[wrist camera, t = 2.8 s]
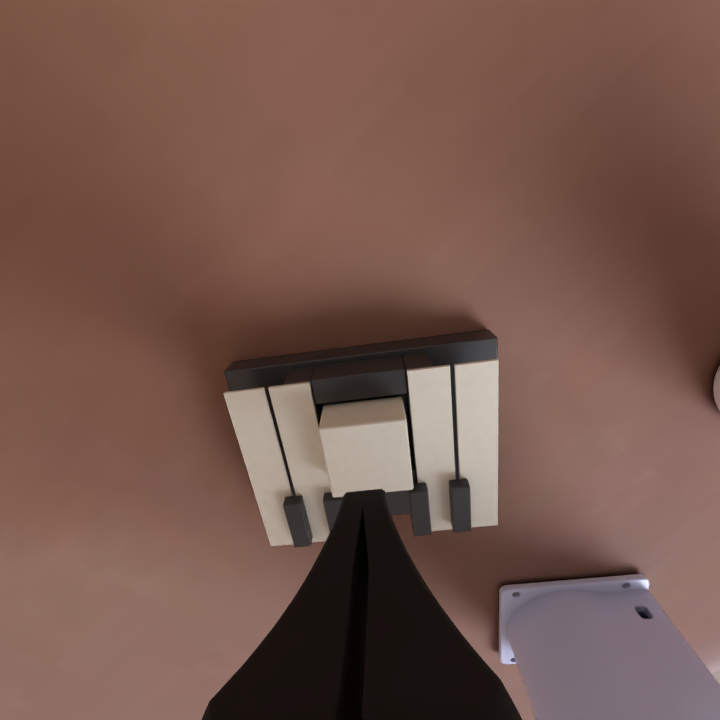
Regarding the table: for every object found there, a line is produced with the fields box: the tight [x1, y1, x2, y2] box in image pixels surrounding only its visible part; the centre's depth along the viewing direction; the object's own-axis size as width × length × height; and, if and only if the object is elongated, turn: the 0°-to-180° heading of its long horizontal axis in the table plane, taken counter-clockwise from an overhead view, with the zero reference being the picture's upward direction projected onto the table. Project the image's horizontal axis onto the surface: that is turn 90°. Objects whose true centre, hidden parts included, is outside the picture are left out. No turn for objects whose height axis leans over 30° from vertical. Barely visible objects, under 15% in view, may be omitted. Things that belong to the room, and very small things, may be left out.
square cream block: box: [318, 396, 414, 497], centre depth 16 cm, size 4×4×2 cm
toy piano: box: [224, 330, 497, 516], centre depth 19 cm, size 10×13×3 cm
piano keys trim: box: [223, 359, 498, 547], centre depth 17 cm, size 9×12×1 cm
